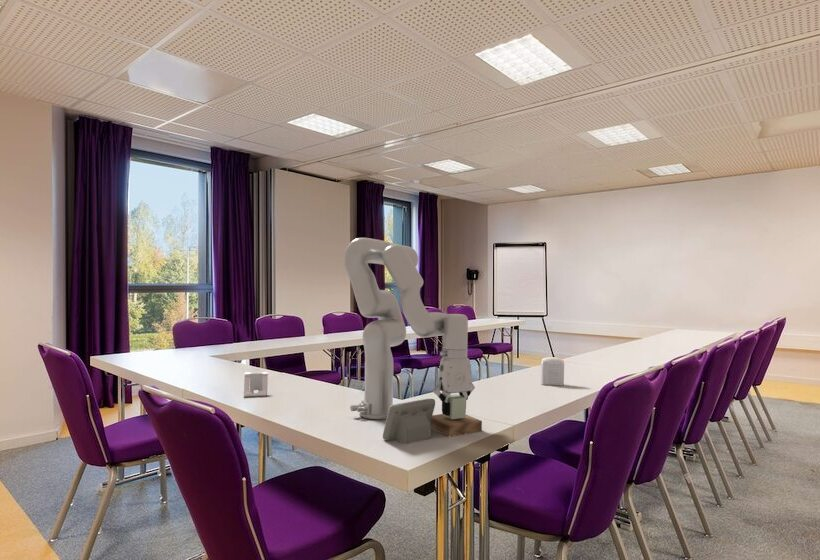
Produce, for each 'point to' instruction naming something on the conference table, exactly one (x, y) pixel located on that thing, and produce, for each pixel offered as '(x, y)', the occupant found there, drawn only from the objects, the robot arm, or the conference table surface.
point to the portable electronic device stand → (255, 384)
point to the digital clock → (409, 421)
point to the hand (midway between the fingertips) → (453, 412)
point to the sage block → (457, 407)
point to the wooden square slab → (455, 425)
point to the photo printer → (552, 371)
